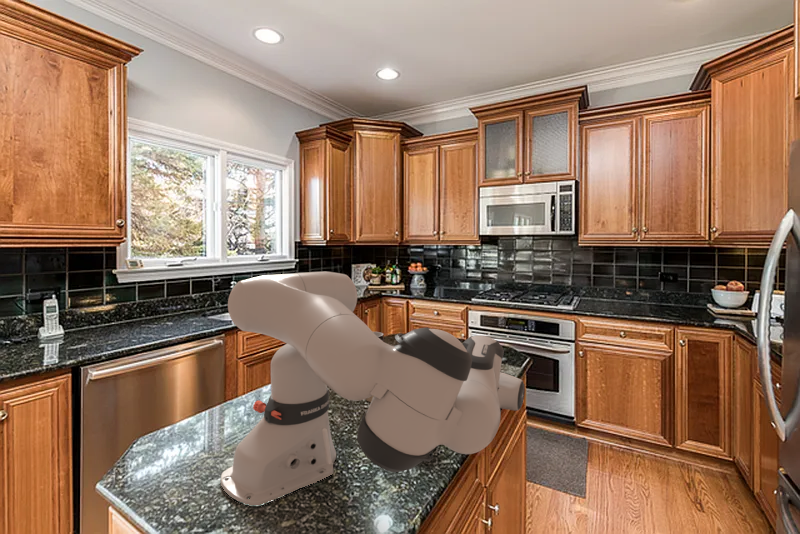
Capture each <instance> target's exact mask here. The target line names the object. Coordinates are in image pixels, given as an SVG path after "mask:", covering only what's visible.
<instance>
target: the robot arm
mask: <svg viewBox="0 0 800 534" xmlns="http://www.w3.org/2000/svg"><path fill="white" fill-rule="evenodd" d="M227 300H228V301H227V310H228V314H229V317H230V319H231V321H232V322H233V324H234V325H235V326H236V327H237V328H238V329H239V330H240V331H243V332H249V333H255V334H261V335H264V336H268V337H271V338H274V339H276V340H278V341H281V342H283V343H285V344H284V345H282V346H281V347H280V348H278V349H277V351H276V352H275V353H274V355H273V356H272V358H271V361H270V389H271V392H270V393H271V394H270V395H269V398H268V399H267V403H265V402H263V401H261V400H260V399H259V400H256V401H255V402H254V403H253V407H252V409H253V410H254V411H255V412H257V413H259V414H262V413H263V417H262V418H261V420H260V421H258V423H256V425H255V426H254V427H253V428H252V429H251V430H250V432H248V433H247V434H246V436H245V437H244V438H243V439H242V440H241V441H239V443H238V444H237V446H236V448H235V451H234V455H233V461H232V462H233V463H232V466H230V467H228V468H226V469H225V470H223V471H222V472H221V475H220V486H222V487H223V489H224V490H223V489H222V490H223V492H224V491H225V492H226V493H227V494H228V495H230V496H231V497H232V498H234V499H236V500H237V501H240V502H243V503H245V504H249V505H260V504H263V503H266V502H268V501H271V500H274V499H276V498H278V497H280V496H283V495H285V494H288V493H290V492H293V491H295V490H297V489H299V488H302V487H305V486H307V485H309V486H311V485H310V484H312V485H314V484H316V483H318V482H317V481H319V482H321V481H323V480H325V479H327V478H326V477H328V476H330V475H332V474H333V475H334V473H335V472H334V463H335V460H336V458H337V451H336V448H335V446H334V442H333V439H332V433H331V429H330V420H329V409H330V392H329V389H330V390H332V391H333V392H334V393H335V394H337V395H338V396H340V397H342V398H343V399H346V400H349V401H353V402H354V401H356V402H357V401H364V400H366V399H367V398H369V397H371V396H374V397H373V399H372V401H371V402H370V404H369V406H368V408H367V410H366V412H365V413H363V415H362V418H361V420H360V423H359V426H358V429H357V435H356V439H357V442H358V444H359V445H358V446H359V447H360V449H361V451H362V453H363V454H364V455H365V457H366V458H367V459H368V460H370V461H371V462H372V463H373V464H374V465H375V466H378V467H379V468H381V469H383V470H385V471H386V472H387V471H388V472H391V473H399V472H404V471H409V470H411V469H413V468H415V467H416V466H418V465H420V464H421V463H422V462H431V461H432V460H433V459H434V453H433V452H434V451H435V448H436V447H438V446H440V445H442V446H445V447H446V448H448V449H449V450H450V451H451V450H452V451H453V452H455V453H458V454H462V455H472V454H476V453H480V451H482V450H484V449H486V447H488V446H489V445H490V443H491V442H493V440H494V438H495V437H496V434H497V433H498V430H499V427H500V423H501V409H503V410H509V411H516V412H517V411H519V410H521V408H522V406H523V404H524V399H525V386H526V385H525V383H524V380H523V379H520V378H518V377H516V376H514V375H510V374H508V373H505V372H501V371H502V370H501V369H502V361H503V359H504V353H505V352H504V351H505V349H504V348H503V346H502V345H501V343H500V342H499V341H498V340H496V339H494V338H492V337H490V336H487V335H486V336H485V335H473V336H472V335H471V336H469V337H467V339H465V340H464V341H463V342H461V341H460V340H459V339H458V338H457V337H456V336H455V335H453V334H451V333H450V332H447V331H445V330H443V329H442V330H441V329H437V328H430V327H427V326H426V327H420V328H415V329H412V330H410V331H409V332H407V333H405V334H404V333H397V334H395V336H394V339H395V341H396V342H397V343H399V344H396V345H391V344H389V343H387V342H384V340H383V341H382V340H381V339H379V338H378V337H377V336H376V335H375V334H374V333H373V332H374V331H373V330H371V328H370V327H369V326H368V325H367V324H366V323H365V322H364V321H363V320H362V319H361V318H359V316H357V315H356V314H355V313H354V311H355V309H356V306H357V302H358V291H357V287H356V285H355V283H354V281H353V280H352V279H351V278H350V277H349V276H348V275H347V274H345V273H339V272H333V271H310V272H295V273H282V274H281V273H277V274H263V275H259V276H258V275H257V276H254V277H251V278H247V279H242V280H239V281H237V283H236V284H235V285H234V286H233V288H232V290H231V291H230V294H229V295H228V299H227ZM328 388H329V389H328ZM333 475H332V476H333ZM330 477H331V476H330ZM324 478H325V479H324ZM328 478H329V477H328ZM322 479H323V480H322ZM320 480H321V481H320ZM313 483H314V484H313ZM222 487H221V488H222ZM307 487H308V486H307ZM305 488H306V487H305ZM225 492H224V493H225ZM226 493H225V494H226ZM227 494H226V495H227ZM228 495H227V496H228ZM232 498H231V499H232ZM248 498H250V499H248Z"/></svg>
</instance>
